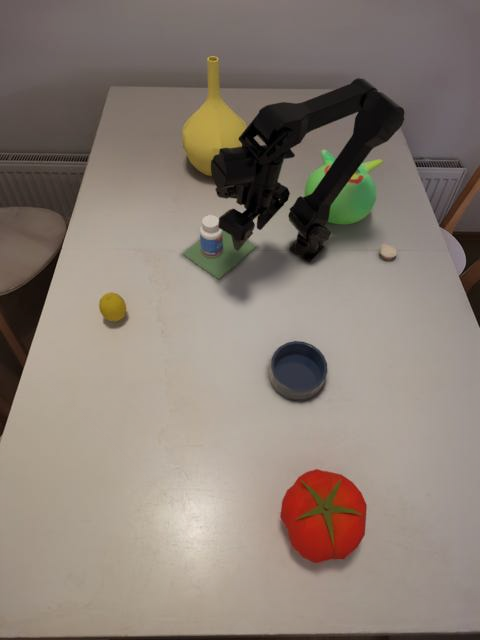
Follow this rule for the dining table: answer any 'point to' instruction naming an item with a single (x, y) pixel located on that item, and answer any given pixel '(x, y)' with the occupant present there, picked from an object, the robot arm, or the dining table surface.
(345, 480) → the tomato
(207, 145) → the vase
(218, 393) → the dining table surface
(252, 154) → the robot arm
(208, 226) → the pill bottle
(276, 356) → the shallow round bowl
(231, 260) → the towel
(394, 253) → the macaroon
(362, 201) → the toy bird
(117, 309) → the lemon
